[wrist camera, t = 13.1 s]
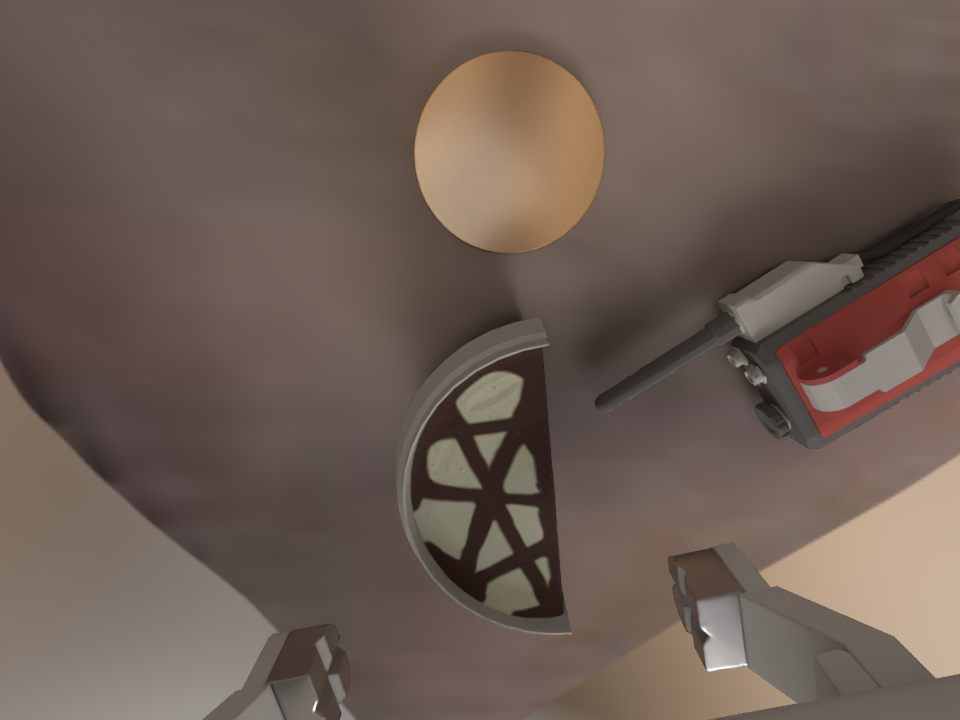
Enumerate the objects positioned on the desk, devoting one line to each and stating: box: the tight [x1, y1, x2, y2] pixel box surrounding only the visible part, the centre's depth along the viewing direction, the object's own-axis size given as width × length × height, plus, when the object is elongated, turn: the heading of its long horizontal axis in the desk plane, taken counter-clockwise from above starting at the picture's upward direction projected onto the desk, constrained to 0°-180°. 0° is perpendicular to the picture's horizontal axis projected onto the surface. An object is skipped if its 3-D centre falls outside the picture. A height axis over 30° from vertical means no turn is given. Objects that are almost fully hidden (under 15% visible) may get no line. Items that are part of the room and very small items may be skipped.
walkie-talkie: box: [595, 199, 960, 449], centre depth 25 cm, size 9×4×20 cm
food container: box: [394, 317, 572, 635], centre depth 23 cm, size 12×6×10 cm, turn 6°
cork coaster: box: [414, 50, 605, 254], centre depth 25 cm, size 9×9×1 cm
